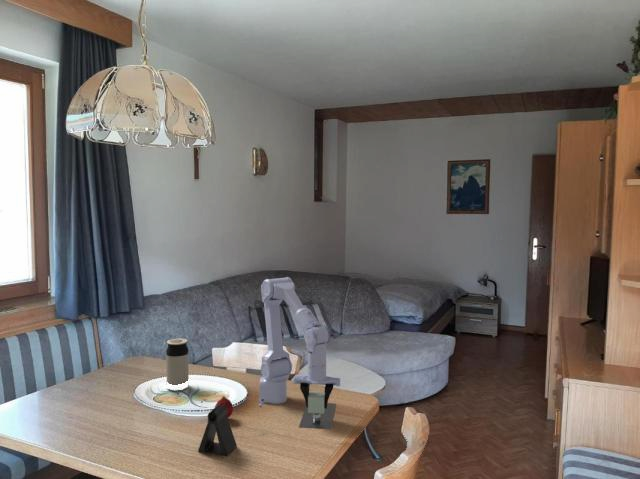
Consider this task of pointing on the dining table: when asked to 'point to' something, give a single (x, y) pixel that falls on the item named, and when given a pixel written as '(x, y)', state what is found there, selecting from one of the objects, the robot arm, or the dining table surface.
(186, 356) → the travel mug
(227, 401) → the onion
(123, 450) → the dining table surface
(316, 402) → the sage green cube
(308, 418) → the base plate
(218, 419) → the phone stand
